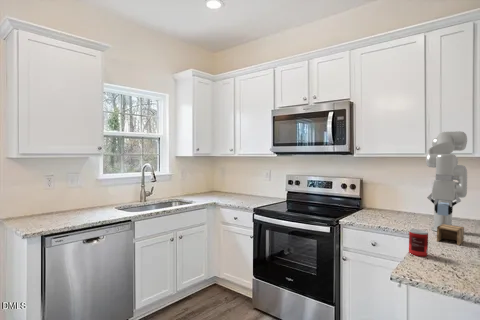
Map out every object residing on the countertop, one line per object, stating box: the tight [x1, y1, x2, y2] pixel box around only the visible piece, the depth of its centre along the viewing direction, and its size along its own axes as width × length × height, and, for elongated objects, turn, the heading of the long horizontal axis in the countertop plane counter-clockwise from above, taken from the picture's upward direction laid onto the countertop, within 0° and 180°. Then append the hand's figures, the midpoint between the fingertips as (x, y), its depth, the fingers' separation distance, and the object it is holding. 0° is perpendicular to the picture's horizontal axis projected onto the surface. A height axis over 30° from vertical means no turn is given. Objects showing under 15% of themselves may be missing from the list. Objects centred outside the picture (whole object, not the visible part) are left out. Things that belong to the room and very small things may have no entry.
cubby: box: [436, 224, 465, 246], centre depth 166 cm, size 12×10×8 cm
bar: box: [437, 202, 449, 216], centre depth 157 cm, size 12×4×5 cm, turn 139°
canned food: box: [408, 228, 429, 258], centre depth 141 cm, size 8×8×11 cm
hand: (443, 212), depth 154 cm, fingers closed on bar, 4 cm apart
